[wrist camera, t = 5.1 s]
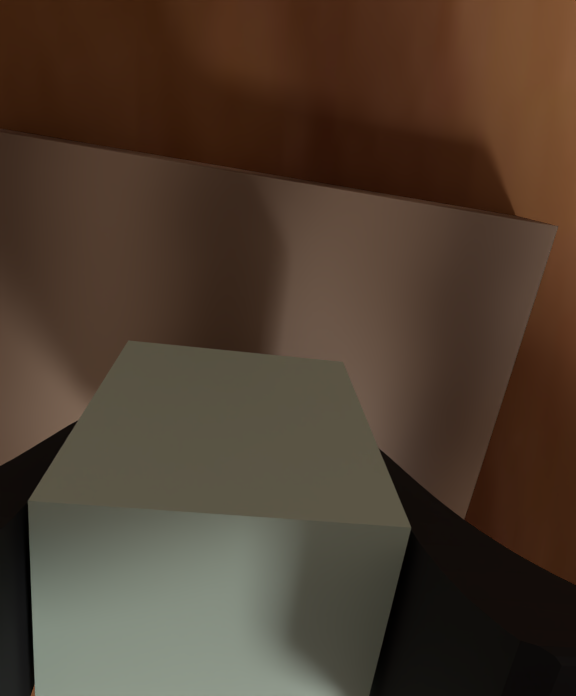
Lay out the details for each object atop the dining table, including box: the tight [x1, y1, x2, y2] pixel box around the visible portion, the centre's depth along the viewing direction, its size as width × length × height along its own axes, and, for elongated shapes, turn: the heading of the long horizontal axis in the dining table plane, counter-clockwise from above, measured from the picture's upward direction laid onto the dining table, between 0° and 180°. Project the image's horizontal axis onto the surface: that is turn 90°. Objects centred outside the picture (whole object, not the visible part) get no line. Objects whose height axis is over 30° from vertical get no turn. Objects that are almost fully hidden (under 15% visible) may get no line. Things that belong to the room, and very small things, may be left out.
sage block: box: [28, 340, 411, 696], centre depth 11 cm, size 5×5×6 cm
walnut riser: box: [0, 128, 558, 519], centre depth 17 cm, size 16×12×3 cm
